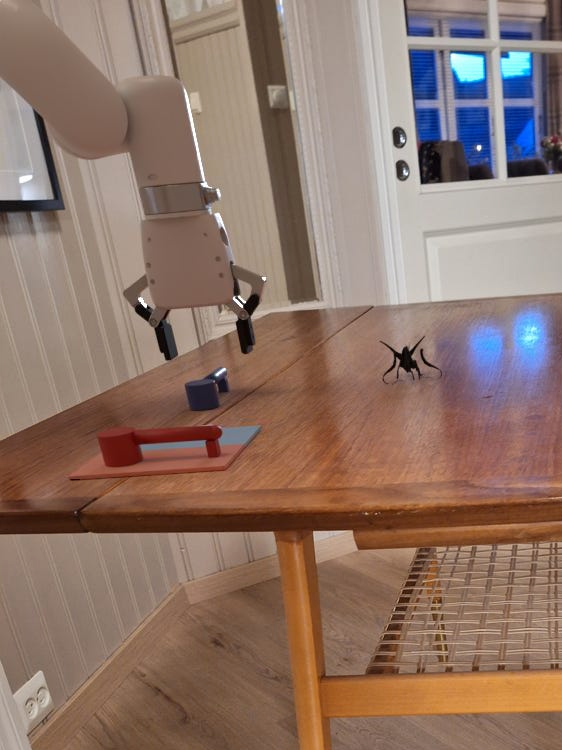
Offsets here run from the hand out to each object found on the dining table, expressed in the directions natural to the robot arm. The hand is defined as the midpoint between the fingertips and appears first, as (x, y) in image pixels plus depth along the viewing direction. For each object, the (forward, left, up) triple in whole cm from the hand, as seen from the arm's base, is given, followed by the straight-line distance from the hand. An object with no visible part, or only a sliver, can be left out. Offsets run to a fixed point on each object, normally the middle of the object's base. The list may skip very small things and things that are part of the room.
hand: (209, 355), depth 109 cm
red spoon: (+3, -29, -5) cm, 30 cm away
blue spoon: (0, -1, -5) cm, 5 cm away
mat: (+2, -26, -5) cm, 26 cm away
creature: (+25, +3, -5) cm, 25 cm away
